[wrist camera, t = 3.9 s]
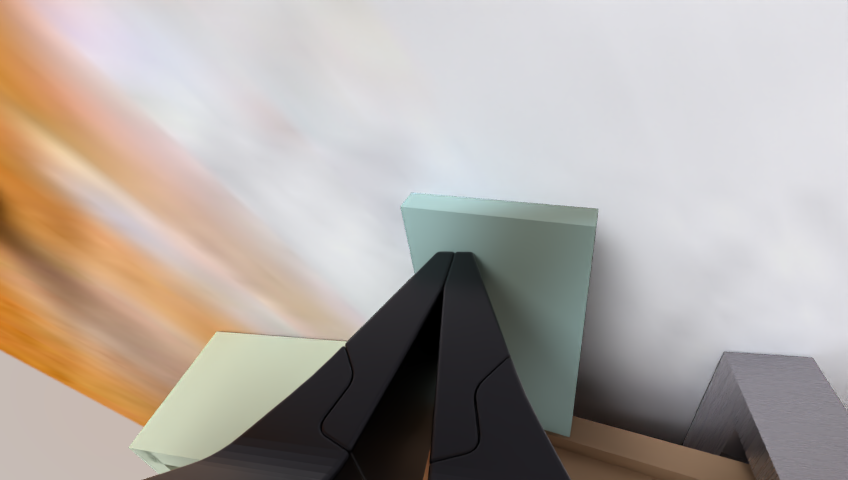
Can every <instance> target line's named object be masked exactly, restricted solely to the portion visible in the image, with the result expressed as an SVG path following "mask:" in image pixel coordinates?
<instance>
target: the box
mask: <svg viewBox="0 0 848 480" xmlns="http://www.w3.org/2000/svg"><path fill="white" fill-rule="evenodd" d="M346 342H347V341H334V340H321V339H308V338H295V337H282V336H269V335H256V334H243V333H230V332H216V333H215V334H214V336H213V337H212V338H211V340H210V341H209V342H208V344H207V345H206V346H205V348H204V349H203V350H202V352H201V353H200V354H199V355H198V357H197V358H196V359H195V361H194V362H193V363H192V365H191V366H190V367H189V369H188V370H187V371H186V373H185V374H184V375H183V376H182V378H181V379H180V380H179V382H178V383H177V384H176V386H175V387H174V388H173V390H172V391H171V392H170V394H169V395H168V396H167V397H166V399H165V400H164V401H163V403H162V404H161V405H160V407H159V408H158V409H157V411H156V412H155V413H154V415H153V416H152V417H151V418H150V420H149V421H148V422H147V424H146V425H145V426H144V428H143V429H142V430H141V432H140V433H139V434H138V436H137V437H136V438H135V440H134V441H133V442H132V444H131V445H130V446H129V449H131V450H132V451H133V452H134V453H135V454H136V455H137V456H139V457H140V458H141V459H142V460H143V461H144V462H145V463H147V464H148V465H149V466H150V467H151V468H152V469H154V470H155V471H156V472H157V473H158V474H161V473H165V472H168V471H171V470H174V469H177V468H180V467H183V466H186V465H189V464H192V463H194V462H197V461H200V460H202V459H204V458H206V457H209V456H210V455H212V454H214V453H216V452H218V451H219V450H221V449H222V448H224V447H225V446H227V445H228V444H230V443H231V442H233V441H234V440H235V439H236V438H238V437H239V436H240V435H242V434H243V433H244V432H245V431H246V430H248V429H249V428H250V427H251V426H252V425H254V424H255V423H256V422H257V421H258V420H260V419H261V418H262V417H263V416H265V415H266V414H267V413H268V412H269V411H271V410H272V409H273V408H274V407H275V406H277V405H278V404H279V403H280V402H281V401H283V400H284V399H285V398H286V397H288V396H289V395H290V394H291V393H292V392H293V391H295V390H296V389H297V388H298V387H299V386H300V385H302V384H303V383H304V382H305V381H306V380H307V379H309V378H310V377H311V376H312V375H313V374H314V373H315V372H316V371H317V370H318V369H319V368H320V367H322V366H323V365H324V364H325V363H326V362H327V361H328V360H329V359H330V358H331V357H332V356H333V355H334V354H335V353H336V352H337V351H338V350H339V349H340V348H341V347H342V346H345V343H346Z"/></svg>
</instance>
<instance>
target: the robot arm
mask: <svg viewBox="0 0 848 480" xmlns="http://www.w3.org/2000/svg"><path fill="white" fill-rule="evenodd" d="M430 446H431V448H430ZM429 451H430V460H429V463H430V466H429V473H428V480H571V478H570V477H569V475H568V473H567V471H566V469H565V467H564V466H563V464H562V462H561V460H560V458H559V456H558V455H557V453H556V451H555V449H554V447H553V445H552V444H551V442H550V440H549V438H548V436H547V434H546V433H545V431H544V429H543V427H542V425H541V423H540V421H539V420H538V418H537V416H536V414H535V412H534V410H533V408H532V406H531V403H530V401H529V399H528V397H527V395H526V393H525V391H524V388H523V386H522V383H521V381H520V378H519V376H518V374H517V371H516V368H515V365H514V363H513V360H512V358H511V355H510V352H509V350H508V347H507V344H506V341H505V339H504V336H503V333H502V330H501V328H500V325H499V322H498V320H497V317H496V314H495V311H494V309H493V306H492V303H491V300H490V298H489V295H488V292H487V290H486V287H485V284H484V281H483V279H482V276H481V273H480V270H479V268H478V265H477V262H476V260H475V257H474V254H473V253H472V252H456V253H455V252H452V251H439V252H437V253H435V254H434V255H433V256H432V257H431V258H430V259H429V260H428V261H427V262H426V263H425V264H424V265H423V266H422V267H421V268H420V269H419V270H418V271H417V272H416V273H415V274H414V275H413V276H412V277H411V278H410V279H409V280H408V281H407V282H406V283H405V284H404V285H403V286H402V287H401V288H400V289H399V290H398V291H397V292H396V293H395V294H394V295H393V296H392V297H391V298H390V299H389V300H388V301H387V302H386V303H385V304H384V305H383V306H382V307H381V308H380V309H379V310H378V311H377V312H376V313H375V314H374V315H373V316H372V317H371V318H370V319H369V320H368V321H367V322H366V323H365V324H364V325H363V326H362V327H361V328H360V329H359V330H358V331H357V332H356V333H355V334H354V335H353V336H352V337H351V338H350V339H349V340H348V341H347V342H346V343H345V346H342V347H341V348H340V349H339V350H338V351H337V352H336V353H335V354H334V355H333V356H332V357H331V358H330V359H329V360H328V361H327V362H326V363H325V364H324V365H323V366H322V367H320V368H319V369H318V370H317V371H316V372H315V373H314V374H313V375H312V376H311V377H310V378H309V379H307V380H306V381H305V382H304V383H303V384H302V385H300V386H299V387H298V388H297V389H296V390H295V391H293V392H292V393H291V394H290V395H289V396H288V397H286V398H285V399H284V400H283V401H281V402H280V403H279V404H278V405H277V406H275V407H274V408H273V409H272V410H271V411H269V412H268V413H267V414H266V415H265V416H263V417H262V418H261V419H260V420H258V421H257V422H256V423H255V424H254V425H252V426H251V427H250V428H249V429H248V430H246V431H245V432H244V433H243V434H242V435H240V436H239V437H238V438H236V439H235V440H234V441H233V442H231V443H230V444H228V445H227V446H225V447H224V448H222V449H221V450H219V451H218V452H216V453H214V454H212V455H210V456H209V457H206V458H204V459H202V460H200V461H197V462H194V463H192V464H189V465H186V466H183V467H180V468H177V469H174V470H171V471H168V472H165V473H161V474H158V475H156V476H153V477H149V478H147V479H144V480H423V477H424V473H425V468H426V464H427V460H428V455H429Z"/></svg>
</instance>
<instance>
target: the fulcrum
mask: <svg viewBox="0 0 848 480" xmlns="http://www.w3.org/2000/svg"><path fill="white" fill-rule="evenodd" d="M682 446H685V447H689V448H692V449H696V450H699V451H703V452H707V453H710V454H714V455H718V456H721V457H725V458H729V459H732V460H736V461H739V462H743V463H747V464H750V466H751V469H752V471H753V474H754V476H755V479H756V480H848V412H847V411H846V409H845V408H844V406H843V405H842V403H841V401H840V400H839V398H838V397H837V395H836V393H835V392H834V390H833V389H832V387H831V386H830V384H829V382H828V381H827V379H826V378H825V376H824V375H823V373H822V371H821V370H820V368H819V367H818V365H817V363H816V362H815V360H814V359H813V358H808V357H793V356H778V355H763V354H748V353H733V352H724V353H723V356H722V358H721V360H720V362H719V364H718V367H717V369H716V371H715V373H714V376H713V378H712V380H711V382H710V384H709V387H708V389H707V391H706V393H705V396H704V398H703V400H702V402H701V405H700V407H699V409H698V411H697V413H696V416H695V418H694V420H693V422H692V425H691V427H690V429H689V431H688V433H687V436H686V438H685V440H684V442H683V445H682Z"/></svg>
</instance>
